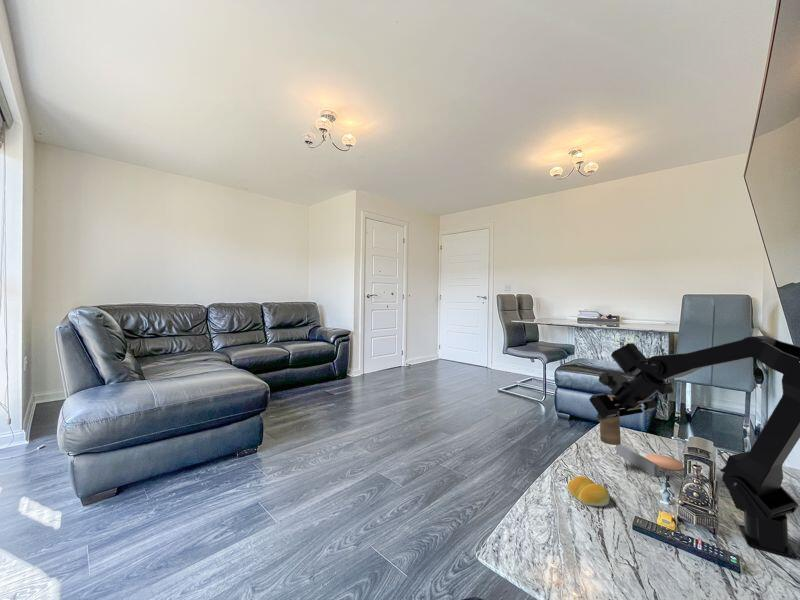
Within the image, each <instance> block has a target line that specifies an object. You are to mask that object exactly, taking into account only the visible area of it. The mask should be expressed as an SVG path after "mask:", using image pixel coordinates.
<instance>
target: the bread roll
mask: <svg viewBox="0 0 800 600" xmlns="http://www.w3.org/2000/svg"><path fill="white" fill-rule="evenodd" d="M567 490H568V492H569V494H570V495H571V496H572V497H573V498H575V499H576V500H579V501H580V502H581V503H582V504H584V505H586V506H590V507H605V506H607V505H608V504H609V503H610V499H611V498H610V497H611V496H610V493H609V491H608V490H607V488H606V487H605V486H603V485H601V484H599V483H596V482H595V481H594V480H592V479H591V478H589V477H587V476H583V475H581V476H575V477H574V478H572V479H570V480H569V481H568V482H567Z"/></svg>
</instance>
